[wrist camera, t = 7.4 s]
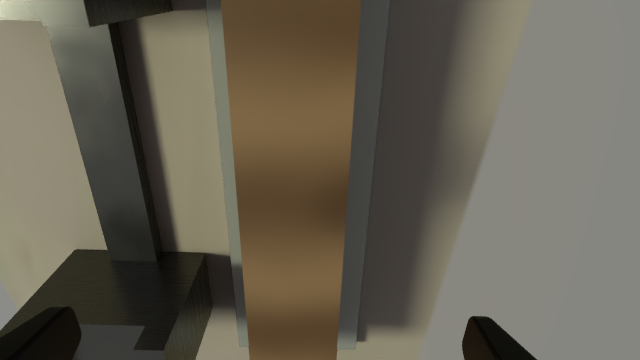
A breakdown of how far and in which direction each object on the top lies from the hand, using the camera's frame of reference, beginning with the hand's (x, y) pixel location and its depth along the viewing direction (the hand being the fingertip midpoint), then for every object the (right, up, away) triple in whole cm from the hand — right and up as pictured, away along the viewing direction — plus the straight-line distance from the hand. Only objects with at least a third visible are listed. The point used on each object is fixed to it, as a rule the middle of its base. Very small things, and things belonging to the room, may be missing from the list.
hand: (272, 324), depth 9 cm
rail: (0, +4, +9) cm, 10 cm away
